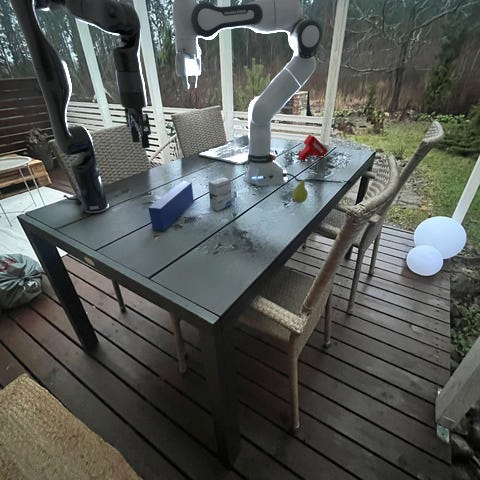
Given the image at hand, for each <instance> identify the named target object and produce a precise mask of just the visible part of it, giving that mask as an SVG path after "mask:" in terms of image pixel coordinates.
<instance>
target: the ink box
mask: <svg viewBox="0 0 480 480" xmlns="http://www.w3.org/2000/svg"><path fill="white" fill-rule="evenodd" d="M207 184H208V194H209V195H208V196H209V207H210V209H212V210H213V211H216V212H218V211H221V210H223V209H225V208H227V207H230V206H232V181H231V179H229V178H227V177H220V178H217V179H214V180H211V181H210V180H209V181H208V183H207Z"/></svg>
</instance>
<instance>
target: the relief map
mask: <svg viewBox="0 0 480 480" xmlns="http://www.w3.org/2000/svg"><path fill="white" fill-rule="evenodd" d="M248 152H249V144H248V145H245V146H243V147H241V146H239V145H238V144H237V143H236V142H235V141H233V142H231V141H229V142H228V143H227V144H224V145H221V146H219V147H215V148H209V149H208V150H206V151H202V152H200V153H199V154H198V155H199V156H201V157H205V158H208V159H213V160H219V161H223V162H228V163H231V164H236V165H242V164H245V163H247V155H248Z"/></svg>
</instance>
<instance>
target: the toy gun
mask: <svg viewBox="0 0 480 480" xmlns="http://www.w3.org/2000/svg"><path fill="white" fill-rule="evenodd" d="M303 144H304V146H305V147H304V148H303V149H302V150H301V151H300V152H298V154H297V156H298V159H299V160H300V161H303V162H306V161H307V159H308V158H309V157H310V156H312V157H315V156H316V155H318V156H316V157H318V158H320V159H324V158H325V156H326V154H327V153H328V149H327V148H326V147H325V146H324V145H323V144H322V143H321V142H320V141H319V140H318V138H316V137H315V135H311V134H309V135H308V136H307V137H306V138H305V140H304V141H303ZM324 155H325V156H324ZM319 156H324V157H319ZM305 159H306V160H305Z"/></svg>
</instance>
